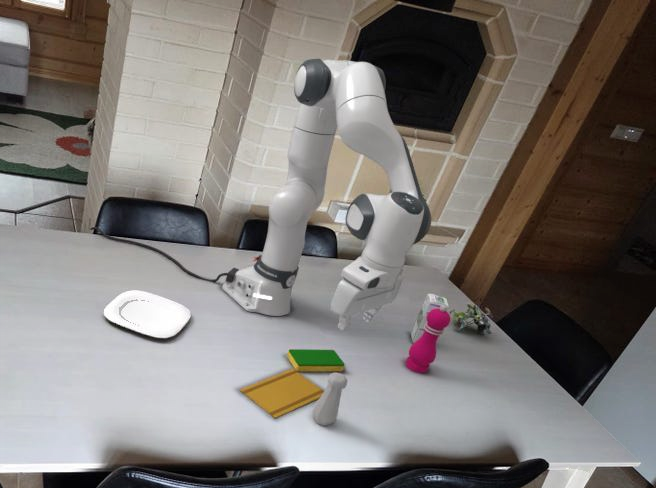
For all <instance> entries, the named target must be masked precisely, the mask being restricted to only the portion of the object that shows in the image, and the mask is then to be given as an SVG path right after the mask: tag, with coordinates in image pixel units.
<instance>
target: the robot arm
mask: <svg viewBox="0 0 656 488" xmlns="http://www.w3.org/2000/svg"><path fill="white" fill-rule="evenodd" d="M386 80H387V79H386V75H385V72H384V71H383V69H382V68H380V67H378V66H376V65H373V64H372V63H370V62H367V61H353V60H348V59H343V60H340V59H339V60H338V59H321V58H311V59H306V60H304V61H303V62H302V63H301V65H300V66H299V67H298V68H297V71H296V74H295V77H294V82H293V94H294V96H295V98H296V100H297V102H298V103H300V104H299V107H298V109H297V112H296V116H295V120H294V124H293V128H292V133H291V137H290V142H289V145H288V150H287V159H288V160H287V161H288V167H287V169H288V170H287V179H286V181H285V183H284V185H283V186H281V187H279V188H278V189H277V190H276V191H275V192H274V193H273V195H272V197H271V199H270V201H269V204H268V215H269V216H268V227H267V234H266V238H265V243H264V246H263V250H262V254H260V255H258V256H255V257H253V259H252V262H255V263H254V264H252V265H249V266H247V267H243V268H240V269H239V268H236V267H233V268H232V269H230V270H229V271H228V272H223V273H220V274H218V275H217V277H216V278H215V279H208V278H205V277H202V276H201V275H198V274H196V273H194V272H191V271H190V270H188V269H187V268H185V267H184V266H183V264H181V263H180V262H179V261H178V260H176V259H175V258H173V257H172V256H171V255H169V254H168V253H166V252H164V251H162V250H161V249H158V248H156V247H154V246H151V245H149V244H145V243H141V242H138V241H134V240H130V239H124V238H119V237H114V236H111V235H109V234H107V233H105V232H104V231H103V230H101V228H100V227H97V226H92V227H90V228H89V230H90V231H93V230H96V231H98V232H99V233H100V234H101V235H103V236H104V237H106V238H107V239H110V240H114V241H119V242H122V243H123V242H124V243H129V244H134V245H138V246H140V247H144V248H147V249H150V250H153V251H155V252H157V253H159V254H161V255H163V256H165V257H166V258H168V259H169V260H171V261H172V262H173V263H175V264H176V265H177V266H178V267H179V268H180V269H181V270H182V271H184V273H187V274H188V275H190V276H193V277H194V278H196V279H199V280H203V281H207V282H209V283H210V282H211V283H216V282H218V281H219V280H220V278H221V277H225V282H224V283H223V285H222V287H221V289H222V290H223V291H224V292H225V293H226V294H228V295H229V296H230V298H232V299H233V301H235V302H236V303H237V304H239V306H241V307H242V308H243V309H244V310H245V311H247V312H251V313H258V314H261V315H266V316H272V317H282V316H285V315H288V314H289V313H290V312H291V300H292V299H291V297H292V291H293V286H294V284H295V282H296V280H297V276H298V272H299V264H300V262H301V257H302V254H303V251H304V248H305V245H306V231H307V226H308V223H309V220H310V218H311V216H312V214H314V213H315V212H316V211H317V210H318V209H319V208H320V207H321V205H322V203H323V201H324V197H325V194H326V193H325V189H326V182H327V175H328V166H329V161H330V157H331V153H332V149H333V144H334V141H335V138H336V134H337V133H336V132H338V135H339V138H340V140H341V141H342V142H343V144H344V145H345V146H347V148H349V149H351V150H352V151H354V152H356V153H358V154H360V155H362V156H364V157H366V158H368V159H370V160H372V161H373V162H375V163H376V164H378V165H379V166H380V167H381V168H382V169H383V170H384V172H385V173H386V175H387V179H388V182H389V186H390V189H391V190H390V191H391V192H390V193H388V194H377V193H361V194H359V195H357V196H356V197H355V198H354V199H353V200H352V202H351V203H350V205H349V206H348V208H347V211H346V214H345V225H346V227H347V230H348V231H349V233H350V234H351V235H352V236H353V237H354V238H356V239H358V240H361V241H363V242H364V243H365V247H364V248H363V250H362V253H361V255H360V256H358V257H357V258H356V259H355V260H354V261H353V262H351V263H350V264H348V265H346V266H345V267H344V268H343V269H342V271H341V273H340V275H341V277H342V279H341V280H340V281H339V283H338V285H337V287H336V288H335V289H336V290H335V291H334V294H333V298H332V300H331V303H330V310H331V312H332V313H333V314H335V315H336V316H338V319H339V321H338V324H337V328H338V329H339V330H340V331H346V330H348V329H349V326H350V324H351V323H350V322H349V320H350V319H351V318H352V316H355V315H357V314H360V313H363V312H364V314H363V316H362V320H363V321H364V322H366V323H370V322H372V321H374V318H375V316H376V315H377V314H378V313H379V312H380V310H381V309H382V307H383V306H387V305H390V304H392V303H393V302H394V301H395V300H396V298H397V296H398V294H399V291H400V289H401V286H402V283H403V279H404V278H403V277H404V276H403V275H402V274H403V273H404V272H403V271H404V266H405V263H406V257H407V254H408V253H409V251H410V250H411V249H412V247H413V246H414V245H416V244H417V243H420V241H422V240H423V238H425V237H426V235H427V234H428V233H429V231H430V229H431V226H432V214H431V213H432V212H431V209H430V207H429V205H428V203H427V201H426V199H425V197H424V196H423V193H422V190H421V187H420V184H419V180H418V176H417V173H416V169H415V166H414V163H413V160H412V156H411V153H410V150H409V146H408V144H407V142H406V139H405V138H404V137H403V136H402V134H401V133H400V132H399V131H398V129H397V128H396V126H395V124H394V122H393V120H392V118H391V116H390V113H389V110H388V104H387V98H386V93H385V91H386V85H387V83H386V82H387V81H386Z"/></svg>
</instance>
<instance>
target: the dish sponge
mask: <svg viewBox="0 0 656 488" xmlns="http://www.w3.org/2000/svg"><path fill="white" fill-rule="evenodd" d="M286 358H287V359H288V361H289V362H290V364H291V365H292V367H293V369H294V370H295V371H297V372H343V370H344V367H345V365H346V364H345V362H344V361H343V360H342V358H341V357H340V356H339V354H338V353H337V352H336V350H334V349H307V348H306V349H304V348H302V349H299V348H298V349H297V348H295V349H294V348H290V349H288V351H287V354H286Z"/></svg>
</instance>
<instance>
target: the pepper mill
mask: <svg viewBox="0 0 656 488" xmlns="http://www.w3.org/2000/svg"><path fill="white" fill-rule="evenodd" d="M446 310H447V311H446ZM450 323H451V315H450V312H448V309H447V307H446V306H445V305H442V306H440V309H433V310H431V311H430V312H429V313H428V315H427V323H426V324H425V326H424V329H425V331H424V333H423V335H422V336H421V337H420V338H419V339H418V340H417V341H416V342H415V343H412V344H411V346H410V347H409V349H408V355H409V356H407V358H406V360H405V366H406V367H407V368H408V369H409V370H410V371H412V372H415V373H418V374H425V373H427V372H428V370H429V368H430V364H432V363H433V362H435V360H436V357H437V342H438V339H439V337H440V336H441V335H443V334H444V333H443V332H444V331H445V328H447V327H449V325H450Z"/></svg>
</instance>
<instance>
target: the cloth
mask: <svg viewBox="0 0 656 488" xmlns="http://www.w3.org/2000/svg"><path fill="white" fill-rule="evenodd" d="M239 391H240V392H241V393H242V394H244V395H245V396H246V397H247V398H248V399H250V400H251V401H252V402H253V403H255V404H256V405H258V407H259V408H261V409H262V410H263V411H265V412H266V413H268V414H269V415H270V416H271V417H273V418H274V419H277V418H279V417H281V416H283V415H286V414H288V413H290V412H292V411H294V410H297V409H299V408H301V407H304V406H306V405H308V404H310V403H312V402H314V401H316V400H319V398H320V397H321V396H322V394H323V393H324V391H325V390H323V389H322V388H321V387H319V386H318V385H317V384H315V383H313V382H312V381H311V380H310V379H308V378H307V377H305V376H304V375H302V374H301V373H299V371H296V370H295V368H291V369H287V370H285V371H283V372H281V373H278V374H275V375H273V376H270V377H268V378H266V379H263V380H260V381H257V382H255V383H253V384H250V385H247V386H245V387H242V388H240V389H239Z"/></svg>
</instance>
